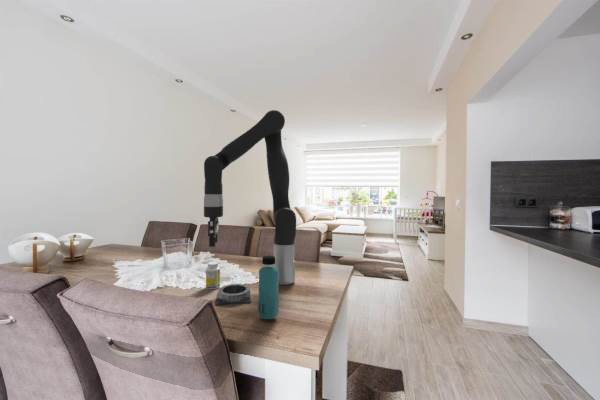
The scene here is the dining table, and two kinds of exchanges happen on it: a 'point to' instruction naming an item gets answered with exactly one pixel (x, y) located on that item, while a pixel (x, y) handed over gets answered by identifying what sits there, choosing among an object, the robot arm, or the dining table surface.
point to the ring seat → (233, 294)
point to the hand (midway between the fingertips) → (213, 244)
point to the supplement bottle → (213, 276)
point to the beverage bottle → (268, 289)
